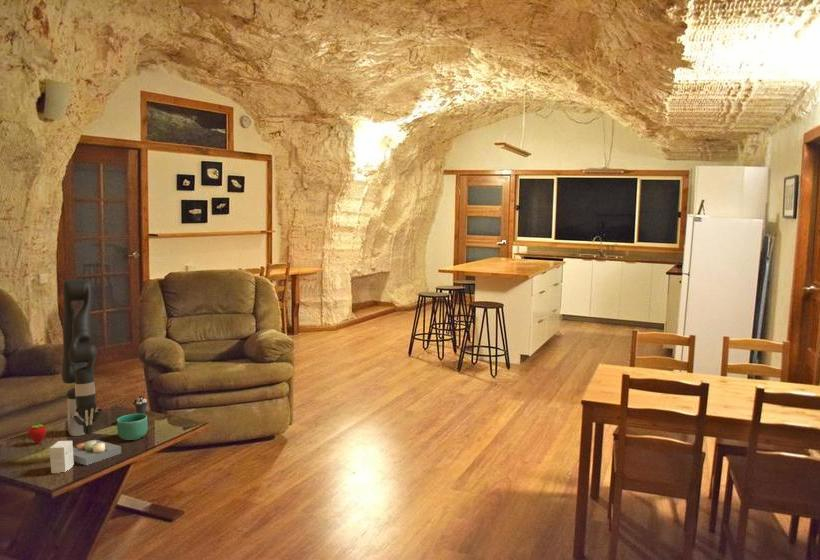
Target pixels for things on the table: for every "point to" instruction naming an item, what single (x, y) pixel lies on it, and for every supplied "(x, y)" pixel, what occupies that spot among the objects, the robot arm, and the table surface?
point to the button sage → (89, 445)
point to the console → (90, 457)
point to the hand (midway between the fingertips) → (87, 433)
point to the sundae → (140, 404)
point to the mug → (132, 426)
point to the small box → (61, 456)
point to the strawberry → (37, 433)
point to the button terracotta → (80, 446)
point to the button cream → (98, 448)
